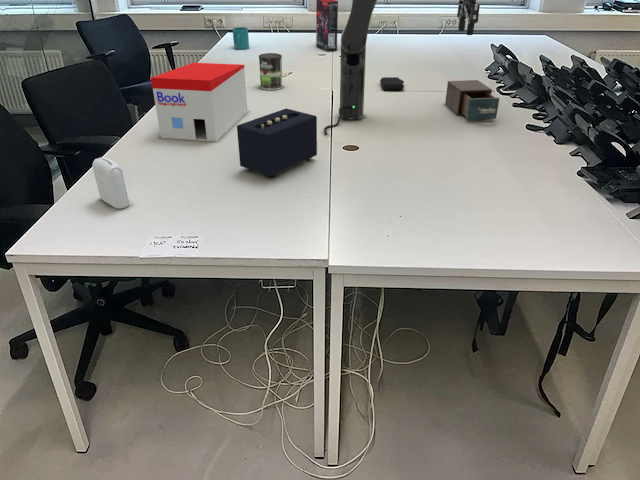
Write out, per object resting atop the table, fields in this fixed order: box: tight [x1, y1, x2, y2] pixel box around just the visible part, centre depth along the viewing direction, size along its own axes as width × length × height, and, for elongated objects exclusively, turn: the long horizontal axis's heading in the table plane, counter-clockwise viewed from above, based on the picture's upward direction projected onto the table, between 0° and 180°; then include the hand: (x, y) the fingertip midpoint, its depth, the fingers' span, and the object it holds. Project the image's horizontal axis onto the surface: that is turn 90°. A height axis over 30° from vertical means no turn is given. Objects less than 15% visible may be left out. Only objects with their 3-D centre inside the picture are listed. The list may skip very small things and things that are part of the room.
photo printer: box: [92, 157, 130, 210], centre depth 140 cm, size 10×4×12 cm, turn 47°
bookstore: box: [150, 62, 248, 143], centre depth 193 cm, size 21×35×21 cm, turn 169°
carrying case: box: [379, 76, 405, 91], centre depth 242 cm, size 11×3×15 cm
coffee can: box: [258, 52, 284, 91], centre depth 239 cm, size 10×10×14 cm
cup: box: [232, 26, 250, 51], centre depth 315 cm, size 9×12×11 cm
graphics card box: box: [315, 0, 339, 52], centre depth 310 cm, size 17×7×27 cm, turn 25°
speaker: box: [236, 108, 318, 178], centre depth 161 cm, size 22×13×15 cm, turn 141°
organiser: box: [444, 79, 493, 116], centre depth 211 cm, size 15×13×10 cm
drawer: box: [460, 92, 500, 121], centre depth 201 cm, size 18×11×8 cm, turn 7°
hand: (465, 33), depth 192 cm, fingers open, 8 cm apart
